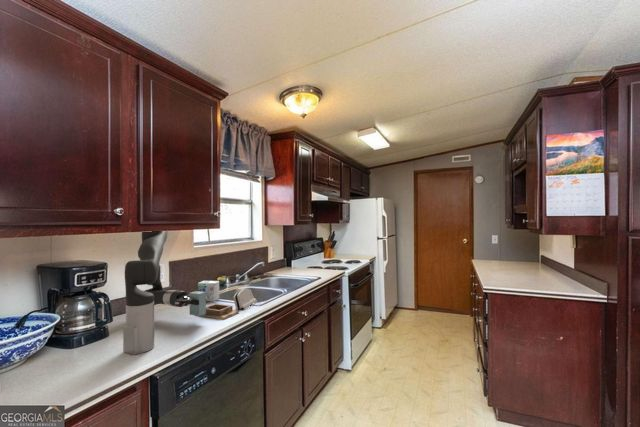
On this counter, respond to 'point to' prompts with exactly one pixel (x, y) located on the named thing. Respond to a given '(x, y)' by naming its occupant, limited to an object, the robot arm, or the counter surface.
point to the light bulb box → (209, 289)
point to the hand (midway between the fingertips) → (202, 301)
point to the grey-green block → (200, 308)
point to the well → (219, 311)
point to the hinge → (244, 299)
